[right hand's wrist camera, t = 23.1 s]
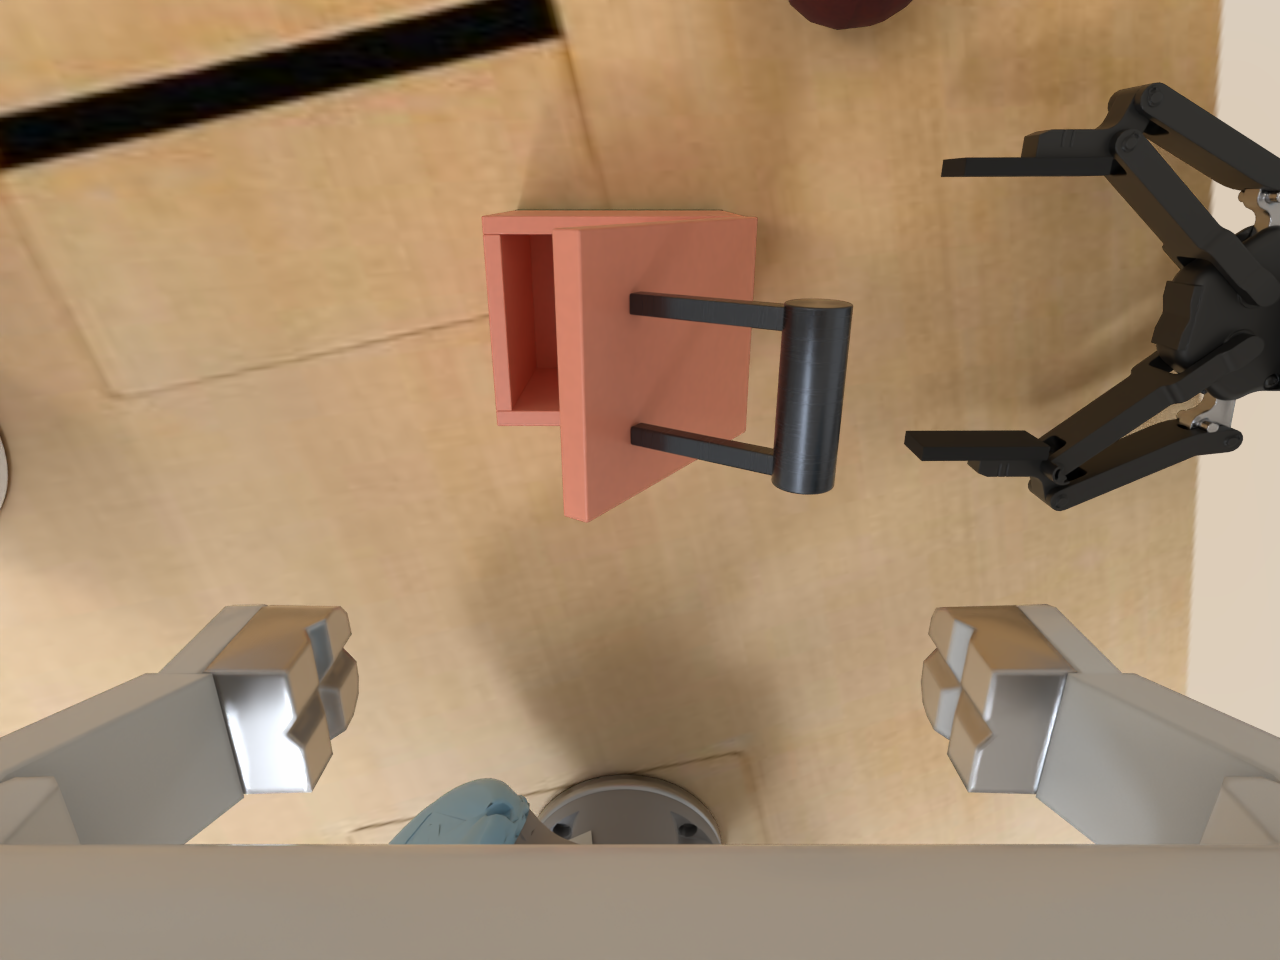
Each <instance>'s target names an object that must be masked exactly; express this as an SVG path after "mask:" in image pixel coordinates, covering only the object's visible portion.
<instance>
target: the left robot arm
mask: <svg viewBox="0 0 1280 960" xmlns="http://www.w3.org/2000/svg"><path fill="white" fill-rule="evenodd" d="M1108 111H1109V112H1108V114H1107V116H1106V118H1105V120H1104V121H1103V123H1102V124H1101V125H1100V126H1099V127H1098V128H1096V129H1075V130H1073V129H1066V130H1045V131H1038V132H1034V133H1032V134H1030V135H1027V136H1025V137H1024V143H1023V149H1022V154H1021V157H1004V158H958V159H947V160H943V166H942V173H941V177H1024V176H1105V177H1106V178H1107V180H1108V181H1109V182H1110V183H1111V184H1112V185H1113V186H1114V188H1115V189H1116V190H1117V191H1118V192H1119V193H1120V194H1121V196H1122V197H1123V198H1124V199H1125V200H1126V201H1127V202H1128V203H1129V205H1130V206H1131V207H1132V208H1133V209H1134V210H1135V211H1136V213H1137V214H1138V215H1139V216H1140V217H1141V218H1142V219H1143V221H1144V222H1145V223H1146V224H1147V225H1148V226H1149V227H1150V228H1151V230H1152V231H1153V232H1154V233H1155V234H1156V235H1157V236H1158V238H1159V239H1160V240H1161V241H1162V242H1163V244H1164V245H1163V246H1162V248H1163V250H1164V251H1165V252H1166V253H1167V255H1168V256H1169V257H1170V258H1171V259H1172V260H1173V261H1174V263H1175V264H1176V265H1177V266H1178V267H1179V268H1180V269H1181V270H1180V271H1179V272H1178V273H1177V275H1176V276H1175V277H1174V279H1173V281H1167V283H1166V287H1165V291H1164V294H1163V313H1162V315H1161V317H1160V319H1159V321H1158V323H1157V325H1156V327H1155V330H1154V333H1153V337H1152V341H1151V342H1152V343H1155V344H1156V347H1157V351H1156V352H1154V353H1153V354H1152V355H1150V356H1149V357H1147V358H1146V359H1144V360H1143V361H1141V362H1140V363H1139V364H1137V365H1136V366H1135V367H1133V368H1132V370H1131V375H1130V376H1129V377H1127V378H1126V379H1124V380H1123V381H1122V382H1120V383H1119V384H1117V385H1116V386H1114V387H1113V388H1111V389H1110V390H1109V391H1107V392H1106V393H1104V394H1103V395H1101V396H1100V397H1098V398H1097V399H1096V400H1094V401H1093V402H1091V403H1090V404H1088V405H1087V406H1085V407H1084V408H1083V409H1081V410H1080V411H1078V412H1077V413H1075V414H1074V415H1072V416H1071V417H1070V418H1068V419H1067V420H1065V421H1064V422H1062V423H1061V424H1059V425H1058V426H1056V427H1055V428H1054V429H1052V430H1051V431H1049V432H1048V433H1046V434H1045V435H1043V436H1042V437H1041V438H1039V439H1037V438H1036V437H1034V436H1033V435H1031V434H1029V433H1028V432H1026V431H906V434H905V441H904V444H905V445H906V446H907V447H908V448H909V449H910V450H911V451H912V452H913V453H914V454H915V455H916V456H917V457H918V458H919V459H920V460H921V461H968V463H967V464H968V465H969V466H970V467H972V468H973V469H974V470H975V471H976V472H977V473H979V474H982V475H984V476H987V477H997V476H999V477H1005V476H1006V477H1030V480H1029V483H1028V488H1029V490H1030V491H1031V492H1032V493H1033V494H1035V495H1036V496H1037V497H1038V498H1040V499H1041V500H1042V501H1043V502H1045V503H1046V504H1047V505H1049V506H1050V507H1051V508H1053V509H1054V510H1056V511H1062V510H1066V509H1068V508H1071V507H1073V506H1075V505H1078V504H1080V503H1083V502H1085V501H1087V500H1090V499H1092V498H1095V497H1097V496H1099V495H1102V494H1104V493H1107V492H1109V491H1112V490H1114V489H1116V488H1119V487H1121V486H1124V485H1126V484H1128V483H1131V482H1133V481H1136V480H1138V479H1140V478H1143V477H1145V476H1148V475H1150V474H1152V473H1155V472H1157V471H1160V470H1162V469H1165V468H1167V467H1169V466H1172V465H1174V464H1177V463H1179V462H1181V461H1184V460H1186V459H1189V458H1191V457H1193V456H1196V455H1206V454H1215V453H1224V452H1230V451H1234V450H1235V449H1237V448H1238V447H1239V446H1240V445H1241V443H1242V441H1243V435H1242V433H1241V432H1239V431H1238V430H1235V429H1233V428H1231V422H1232V417H1233V411H1234V406H1235V401H1236V399H1239V398H1241V397H1243V396H1245V395H1247V394H1250V393H1253V392H1256V391H1280V158H1278V157H1277V156H1275V155H1274V154H1272V153H1271V152H1269V151H1268V150H1266V149H1264V148H1263V147H1261V146H1260V145H1258V144H1257V143H1255V142H1254V141H1252V140H1250V139H1249V138H1247V137H1246V136H1244V135H1243V134H1241V133H1240V132H1238V131H1236V130H1235V129H1233V128H1232V127H1230V126H1229V125H1227V124H1226V123H1224V122H1223V121H1221V120H1219V119H1218V118H1216V117H1215V116H1213V115H1212V114H1210V113H1209V112H1207V111H1205V110H1204V109H1202V108H1201V107H1199V106H1198V105H1196V104H1195V103H1193V102H1191V101H1190V100H1188V99H1187V98H1185V97H1184V96H1182V95H1181V94H1179V93H1177V92H1176V91H1174V90H1173V89H1171V88H1170V87H1168V86H1167V85H1165V84H1163V83H1160V82H1159V83H1152V84H1147V85H1142V86H1137V87H1132V88H1128V89H1123V90H1119V91H1117V92H1116V93H1114V94H1113V96H1112V97H1111V98H1110V100H1109V102H1108ZM1145 137H1146V138H1147V139H1149V140H1150V141H1152V142H1154V143H1155V144H1157V145H1158V146H1160V147H1162V148H1163V149H1165V150H1166V151H1168V152H1170V153H1171V154H1173V155H1174V156H1176V157H1178V158H1179V159H1181V160H1182V161H1184V162H1186V163H1187V164H1189V165H1190V166H1192V167H1194V168H1195V169H1197V170H1198V171H1200V172H1202V173H1203V174H1205V175H1206V176H1208V177H1210V178H1211V179H1213V180H1214V181H1216V182H1218V183H1220V184H1222V185H1223V186H1226V187H1229V188H1232V189H1236V190H1241V192H1240V193H1239V196H1238V199H1239V201H1240V202H1243V203H1244V205H1245V207H1246V208H1249V209H1250V210H1252V211H1253V212H1254V213H1255V216H1256V221H1255V224H1254V225H1253V226H1250V227H1247V228H1245V229H1243V230H1241V231H1240V232H1238V233H1236V234H1234V233H1232V232H1231V231H1229V230H1227V229H1225V228H1223V227H1221V226H1220V225H1219V224H1218V223H1217V222H1216V220H1215V219H1214V218H1213V217H1212V216H1211V214H1210V213H1209V212H1208V211H1207V210H1206V209H1205V207H1204V206H1203V205H1202V204H1201V203H1200V201H1199V200H1198V199H1197V198H1196V197H1195V196H1194V194H1193V193H1192V192H1191V191H1190V190H1189V188H1188V187H1187V186H1186V185H1185V184H1184V182H1183V181H1182V180H1181V179H1180V178H1179V177H1178V175H1177V174H1176V173H1175V172H1174V171H1173V169H1172V168H1171V167H1170V166H1169V165H1168V164H1167V162H1166V161H1165V160H1164V159H1163V158H1162V156H1161V155H1160V154H1159V153H1158V152H1157V151H1156V149H1155V148H1154V147H1153V146H1152V145H1151V143H1150V142H1149V141H1148V140H1147V139H1146V138H1145ZM1172 370H1175V371H1176V372H1177V373H1178V374H1172V373H1169V372H1171V371H1172ZM1198 393H1202V394H1204V397H1203V400H1202V401H1201V403H1200V404H1199V405H1197V406H1196V407H1194V408H1191V409H1188V410H1187V411H1185V410H1181V411H1179V412H1178V413H1177V415H1176V418H1177V419H1173V420H1168V421H1164V422H1160V423H1157V424H1155V425H1152V426H1149V427H1147V428H1145V429H1142V430H1140V431H1138V432H1135V433H1133V434H1131V435H1128V436H1126V437H1124V438H1122V437H1123V436H1125V435H1126V434H1128V433H1129V432H1131V431H1132V430H1134V429H1135V428H1137V427H1138V426H1140V425H1141V424H1143V423H1144V422H1146V421H1147V420H1149V419H1150V418H1152V417H1153V416H1155V415H1156V414H1158V413H1159V412H1161V411H1162V410H1164V409H1165V408H1167V407H1168V406H1170V405H1172V404H1176V403H1182V402H1185V401H1187V400H1189V399H1191V398H1192V397H1194V396H1195V395H1197V394H1198ZM1120 438H1121V439H1120ZM389 844H722V843H721V836H720V832H719V828H718V826H717V823H716V821H715V819H714V818H713V816H712V814H711V813H710V812H709V810H708V809H707V808H706V807H705V806H704V805H703V803H702V802H700V801H699V800H698V799H697V798H696V797H695V796H693V795H692V794H690V793H689V792H687V791H686V790H684V789H682V788H680V787H678V786H676V785H674V784H672V783H669V782H666V781H664V780H660V779H656V778H652V777H647V776H640V775H611V776H604V777H599V778H594V779H591V780H587V781H585V782H582V783H579V784H577V785H575V786H573V787H571V788H569V789H567V790H565V791H564V792H562V793H561V794H559V795H558V796H557V797H555V798H554V799H553V800H552V801H551V802H550V803H549V804H548V805H547V806H546V807H545V808H544V809H543V811H542V812H541V813H540V815H539V817H538V818H537V817H536V816H535V815H534V814H533V812H532V811H531V810H530V809H529V803H528V802H527V800H526V798H525V797H524V796H522V795H517V794H516V793H515V792H514V791H513V790H512V789H511V788H510V787H509V786H508V785H507V784H506V783H504V782H502V781H500V780H497V779H491V778H485V779H478V780H474V781H470V782H467V783H465V784H463V785H460V786H458V787H456V788H454V789H453V790H451V791H449V792H447V793H446V794H444V795H443V796H441V797H440V798H439V799H437V800H436V801H435V802H434V803H432V804H430V805H429V806H428V807H426V808H425V809H424V810H423V811H421V812H420V813H419V814H418V815H417V816H416V817H415V818H413V819H412V820H411V821H410V822H409V823H408V824H407V825H406V826H405V827H404V828H403V829H402V830H401V831H400V832H399V833H398V834H397V835H396V836H395V837H394V838H393V839H392V841H391V842H390V843H389Z"/></svg>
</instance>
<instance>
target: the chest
mask: <svg viewBox="0 0 1280 960" xmlns="http://www.w3.org/2000/svg"><path fill="white" fill-rule="evenodd" d="M736 216H739V217H744V216H741V215H738V214H734V213H730V212H726V211H723V210H515V211H509V212H503V213H497V214H492V215H486V216H482V227H483V234H484V235H483V241H484V254H485V267H486V281H487V294H488V307H489V321H490V334H491V347H492V360H493V374H494V387H495V400H496V410H497V411H496V413H497V425H498V426H560V405H559V381H558V357H557V334H556V310H555V286H554V262H553V238H552V230H553V229H554V228H564V227H579V226H595V225H611V224H626V223H642V222H658V221H673V220H689V219H704V218H720V217H736Z"/></svg>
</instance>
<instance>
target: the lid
mask: <svg viewBox="0 0 1280 960" xmlns="http://www.w3.org/2000/svg"><path fill="white" fill-rule="evenodd" d="M756 236H757V217H739V216H736V217H720V218H704V219H689V220H673V221H658V222H642V223H626V224H611V225H595V226H579V227H564V228H554V229H553V230H552V238H553V262H554V286H555V310H556V334H557V357H558V381H559V405H560V429H561V453H562V477H563V501H564V515H565V516H566V517H570V518H573V519H576V520H580V521H583V522H590V521H591V520H593V519H595V518H597V517H598V516H600V515H602V514H604V513H605V512H607V511H609V510H610V509H612V508H614V507H616V506H617V505H619V504H621V503H623V502H624V501H626V500H628V499H629V498H631V497H633V496H635V495H636V494H638V493H640V492H642V491H643V490H645V489H647V488H648V487H650V486H652V485H654V484H655V483H657V482H659V481H661V480H662V479H664V478H666V477H668V476H669V475H671V474H673V473H674V472H676V471H678V470H680V469H681V468H683V467H685V466H687V465H688V464H690V463H692V462H693V461H695V460H697V459H699V460H704V461H709V462H713V463H718V464H722V465H727V466H731V467H736V468H740V469H745V470H750V471H754V472H759V473H763V474H768V475H772V479H771V480H772V483H773V484H774V485H775V486H776V487H777V488H779V489H781V490H784V491H787V492H791V493H796V494H820V493H825V492H828V491H830V490H831V489H832V488H833V486H834V481H835V471H836V462H837V452H838V443H839V434H840V424H841V415H842V406H843V396H844V387H845V377H846V368H847V359H848V349H849V340H850V331H851V321H852V312H853V305H852V304H851V303H849V302H845V301H840V300H831V299H795V300H789V301H786V302H785V303H784V304H781V303H769V302H758V301H753V289H754V272H755V254H756ZM751 328H759V329H768V330H778V331H782V340H781V354H780V368H779V381H778V395H777V409H776V423H775V437H774V449H772V448H767V447H762V446H757V445H752V444H747V443H742V442H737V441H731V440H732V439H733V438H735V437H737V436H738V435H740V434H742V433H744V432H745V430H746V413H747V396H748V378H749V360H750V342H751Z"/></svg>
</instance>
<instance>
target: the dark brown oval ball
mask: <svg viewBox="0 0 1280 960" xmlns="http://www.w3.org/2000/svg"><path fill="white" fill-rule="evenodd" d="M911 1H912V0H789V2H790V5H791V6H793V7H794V8H795V9H796V10H797V11H798V12H799V13H801V14H802V15H803V16H804V17H805V18H806V19H807V20H809V21H810V22H813V23H816V24H819V25H823V26H826V27H830V28H833V29H836V30H840V29H848V28H857V27H865V26H871V25H874V24H877V23H880V22H882V21H885V20H886V19H888V18H889V17H891V16H892V15H894V14H895V13H897V12H899V11H900V10H902V9H903V8H905V7H906V6H907V5H908V4H909V3H910V2H911Z"/></svg>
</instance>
